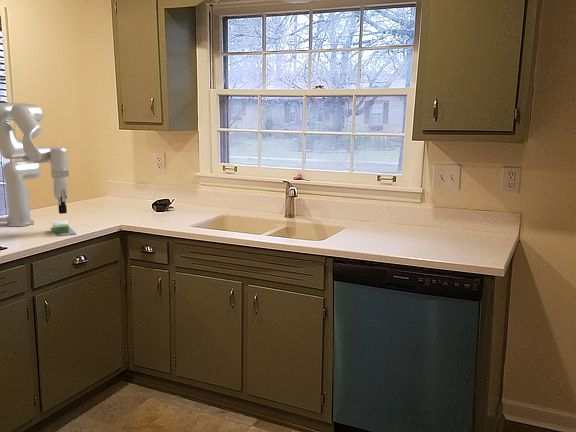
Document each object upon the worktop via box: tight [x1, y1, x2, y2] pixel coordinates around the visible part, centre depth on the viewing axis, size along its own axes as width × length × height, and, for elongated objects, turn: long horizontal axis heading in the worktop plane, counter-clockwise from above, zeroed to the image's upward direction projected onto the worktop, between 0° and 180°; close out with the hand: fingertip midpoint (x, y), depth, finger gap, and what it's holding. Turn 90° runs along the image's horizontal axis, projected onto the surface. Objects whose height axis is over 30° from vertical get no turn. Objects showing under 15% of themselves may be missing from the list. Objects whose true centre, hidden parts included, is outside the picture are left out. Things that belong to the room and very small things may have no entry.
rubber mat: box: [50, 226, 77, 237], centre depth 257 cm, size 8×20×1 cm, turn 31°
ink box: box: [52, 220, 70, 234], centre depth 253 cm, size 7×4×13 cm
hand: (62, 213), depth 253 cm, fingers closed
